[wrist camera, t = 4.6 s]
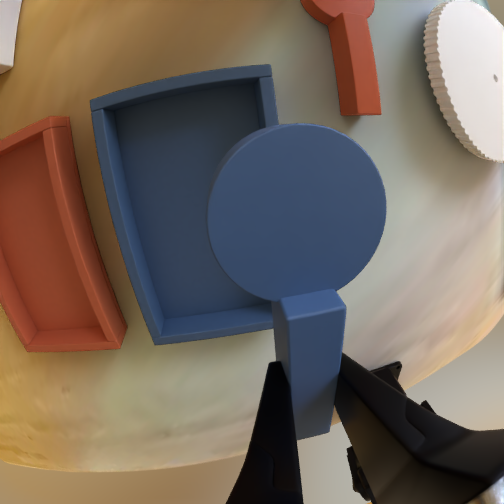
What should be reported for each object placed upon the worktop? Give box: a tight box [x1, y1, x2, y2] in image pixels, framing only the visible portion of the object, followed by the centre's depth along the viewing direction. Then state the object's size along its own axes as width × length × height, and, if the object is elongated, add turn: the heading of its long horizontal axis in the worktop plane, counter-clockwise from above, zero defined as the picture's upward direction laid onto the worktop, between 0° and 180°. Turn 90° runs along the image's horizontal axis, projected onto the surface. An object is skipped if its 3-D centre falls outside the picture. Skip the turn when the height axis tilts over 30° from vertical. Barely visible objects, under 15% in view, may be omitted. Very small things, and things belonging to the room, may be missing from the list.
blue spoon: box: [206, 123, 386, 440], centre depth 8 cm, size 11×5×2 cm, turn 6°
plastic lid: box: [423, 0, 504, 163], centre depth 14 cm, size 14×14×2 cm
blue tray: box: [90, 64, 279, 345], centre depth 16 cm, size 15×9×2 cm, turn 7°
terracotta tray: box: [0, 116, 127, 352], centre depth 15 cm, size 15×9×2 cm, turn 7°
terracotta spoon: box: [300, 0, 381, 116], centre depth 13 cm, size 11×5×2 cm, turn 7°
